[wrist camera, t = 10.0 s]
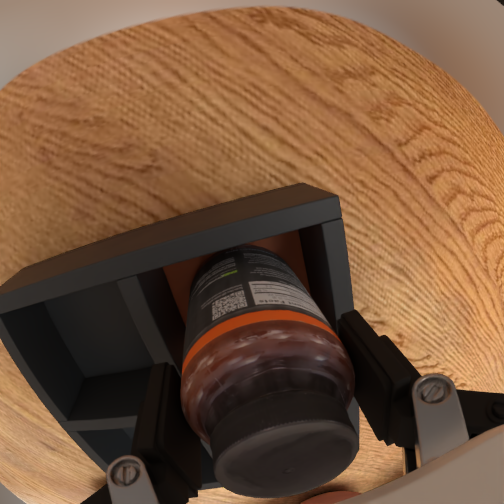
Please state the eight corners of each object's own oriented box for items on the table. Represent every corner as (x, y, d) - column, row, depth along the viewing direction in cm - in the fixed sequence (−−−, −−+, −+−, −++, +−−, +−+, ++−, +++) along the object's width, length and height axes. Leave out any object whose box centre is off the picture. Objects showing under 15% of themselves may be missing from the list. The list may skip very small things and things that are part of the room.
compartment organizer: (22, 268, 16) (-19, 301, 11) (303, 182, 17) (339, 194, 12) (135, 450, 22) (129, 494, 17) (338, 406, 23) (359, 450, 18)
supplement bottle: (254, 351, 19) (293, 518, 8) (169, 305, 17) (135, 486, 6) (316, 278, 17) (426, 425, 7) (231, 218, 16) (271, 357, 5)
